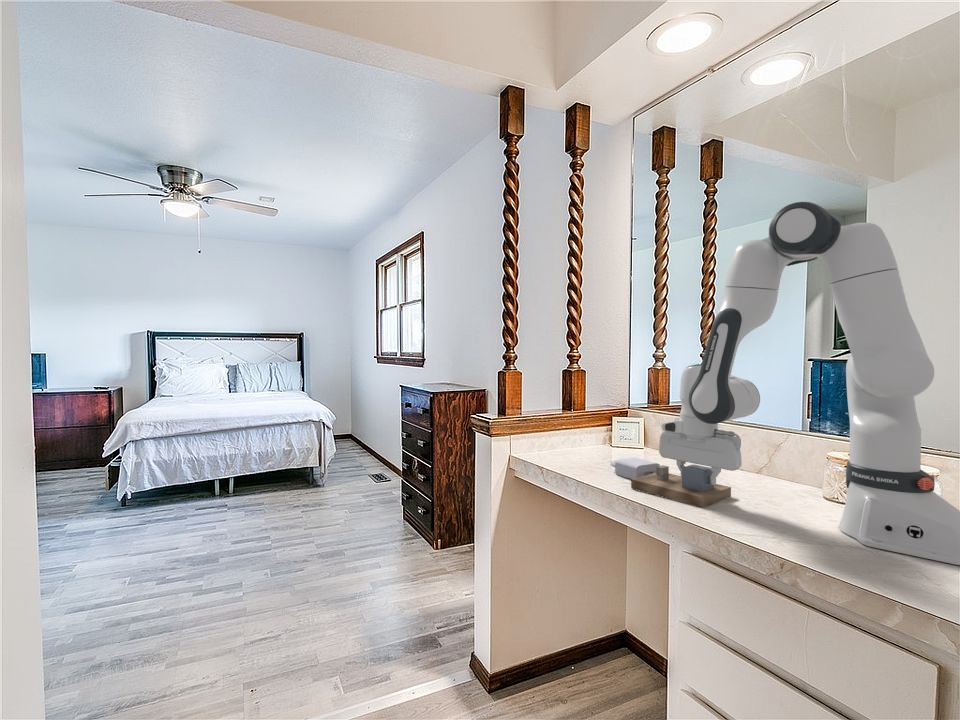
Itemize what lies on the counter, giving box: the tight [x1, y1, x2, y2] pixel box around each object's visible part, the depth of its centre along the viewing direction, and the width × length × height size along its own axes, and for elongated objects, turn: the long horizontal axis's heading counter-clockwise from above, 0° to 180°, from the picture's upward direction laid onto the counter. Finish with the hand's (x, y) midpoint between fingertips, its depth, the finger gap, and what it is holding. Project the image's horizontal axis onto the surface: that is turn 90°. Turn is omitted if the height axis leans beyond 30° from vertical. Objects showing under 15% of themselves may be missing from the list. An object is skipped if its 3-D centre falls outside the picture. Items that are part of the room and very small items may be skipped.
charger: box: [610, 457, 661, 480], centre depth 147 cm, size 5×9×15 cm
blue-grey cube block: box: [682, 463, 714, 492], centre depth 123 cm, size 6×6×5 cm
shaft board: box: [630, 465, 732, 508], centre depth 127 cm, size 20×14×6 cm
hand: (697, 481), depth 123 cm, fingers closed on blue-grey cube block, 6 cm apart
